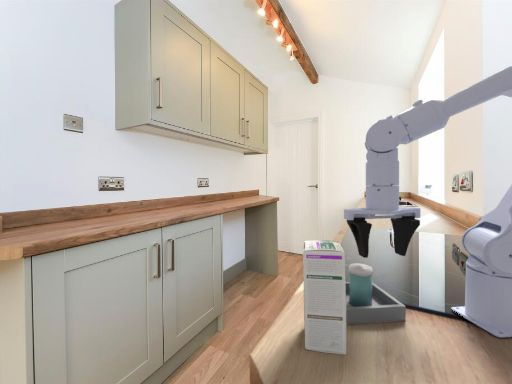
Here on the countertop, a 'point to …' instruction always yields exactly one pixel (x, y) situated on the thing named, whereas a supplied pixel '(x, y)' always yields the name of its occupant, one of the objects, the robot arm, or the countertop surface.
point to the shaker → (360, 285)
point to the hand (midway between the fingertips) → (381, 255)
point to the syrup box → (324, 296)
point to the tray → (375, 308)
